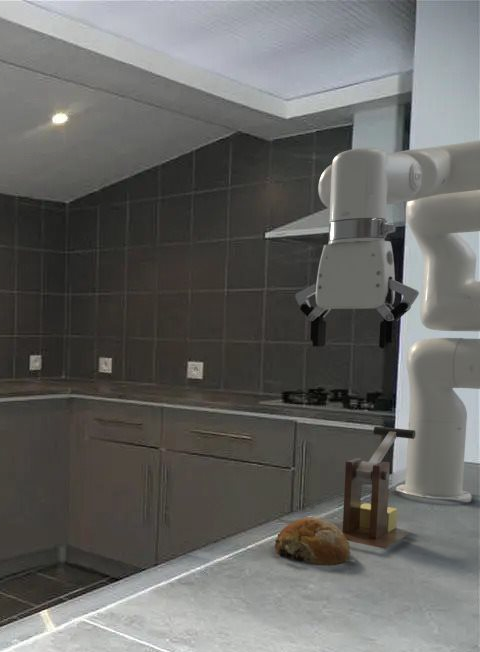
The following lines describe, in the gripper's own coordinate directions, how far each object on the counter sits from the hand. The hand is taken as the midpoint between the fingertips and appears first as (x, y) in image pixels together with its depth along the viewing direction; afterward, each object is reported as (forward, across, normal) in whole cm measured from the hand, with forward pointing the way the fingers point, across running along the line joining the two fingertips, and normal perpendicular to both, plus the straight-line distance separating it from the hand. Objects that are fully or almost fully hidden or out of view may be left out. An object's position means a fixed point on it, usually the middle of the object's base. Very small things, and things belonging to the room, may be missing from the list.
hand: (351, 347), depth 110 cm
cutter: (+31, -2, -5) cm, 32 cm away
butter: (+30, -2, -10) cm, 32 cm away
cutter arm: (+19, -1, -11) cm, 22 cm away
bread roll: (+31, 0, +11) cm, 33 cm away
